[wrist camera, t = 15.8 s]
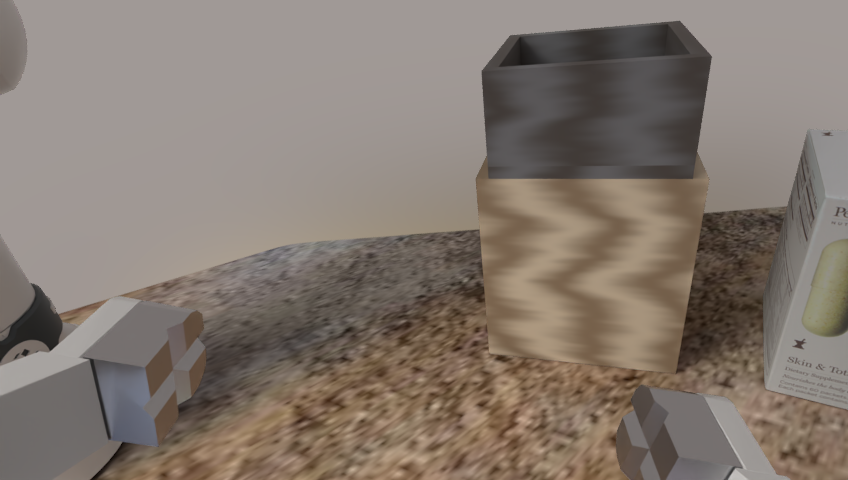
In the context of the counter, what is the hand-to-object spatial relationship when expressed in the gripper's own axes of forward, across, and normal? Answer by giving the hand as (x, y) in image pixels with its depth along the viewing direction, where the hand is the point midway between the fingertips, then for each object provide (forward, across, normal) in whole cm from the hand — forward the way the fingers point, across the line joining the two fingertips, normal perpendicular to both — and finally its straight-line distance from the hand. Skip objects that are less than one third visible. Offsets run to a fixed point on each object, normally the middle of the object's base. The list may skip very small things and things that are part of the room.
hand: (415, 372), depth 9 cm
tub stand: (+35, -16, +22) cm, 45 cm away
